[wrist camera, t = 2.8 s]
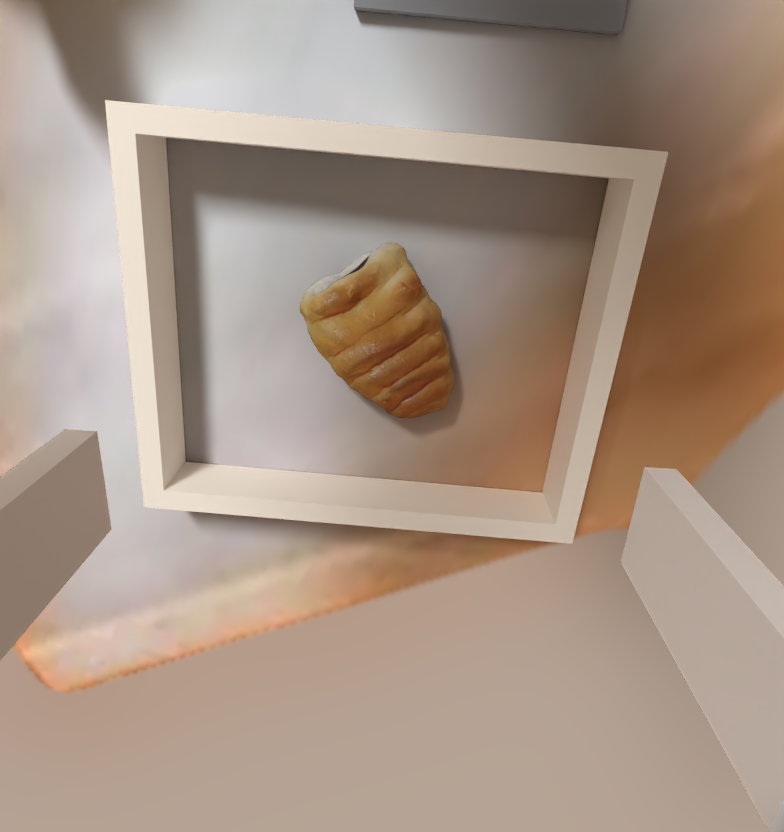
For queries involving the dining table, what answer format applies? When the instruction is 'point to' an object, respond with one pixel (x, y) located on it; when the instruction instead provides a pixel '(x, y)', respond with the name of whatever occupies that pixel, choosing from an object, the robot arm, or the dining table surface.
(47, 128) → the dining table surface
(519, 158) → the white shallow tray
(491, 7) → the mat
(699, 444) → the dining table surface
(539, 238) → the dining table surface
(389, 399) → the pastry
